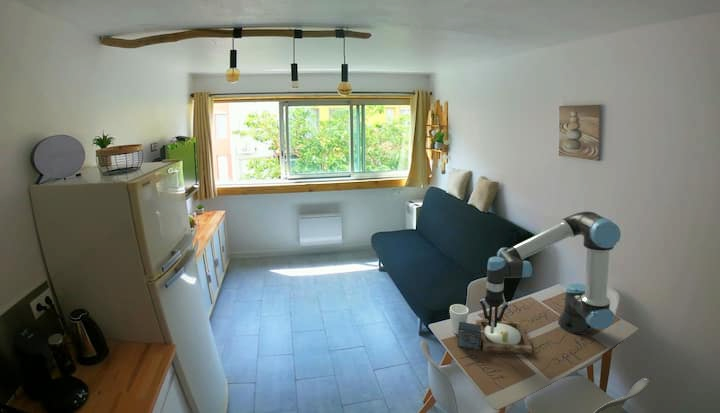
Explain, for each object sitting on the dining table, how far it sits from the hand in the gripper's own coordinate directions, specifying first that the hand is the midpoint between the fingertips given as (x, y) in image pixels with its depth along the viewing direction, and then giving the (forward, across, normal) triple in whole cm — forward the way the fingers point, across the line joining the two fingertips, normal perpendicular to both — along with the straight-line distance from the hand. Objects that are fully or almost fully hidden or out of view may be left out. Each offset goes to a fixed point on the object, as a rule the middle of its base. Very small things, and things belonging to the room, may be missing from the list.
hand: (492, 332), depth 182 cm
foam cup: (+7, -17, +5) cm, 19 cm away
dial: (+5, +5, +6) cm, 9 cm away
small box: (+7, -10, -5) cm, 13 cm away
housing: (+7, +5, +6) cm, 10 cm away
